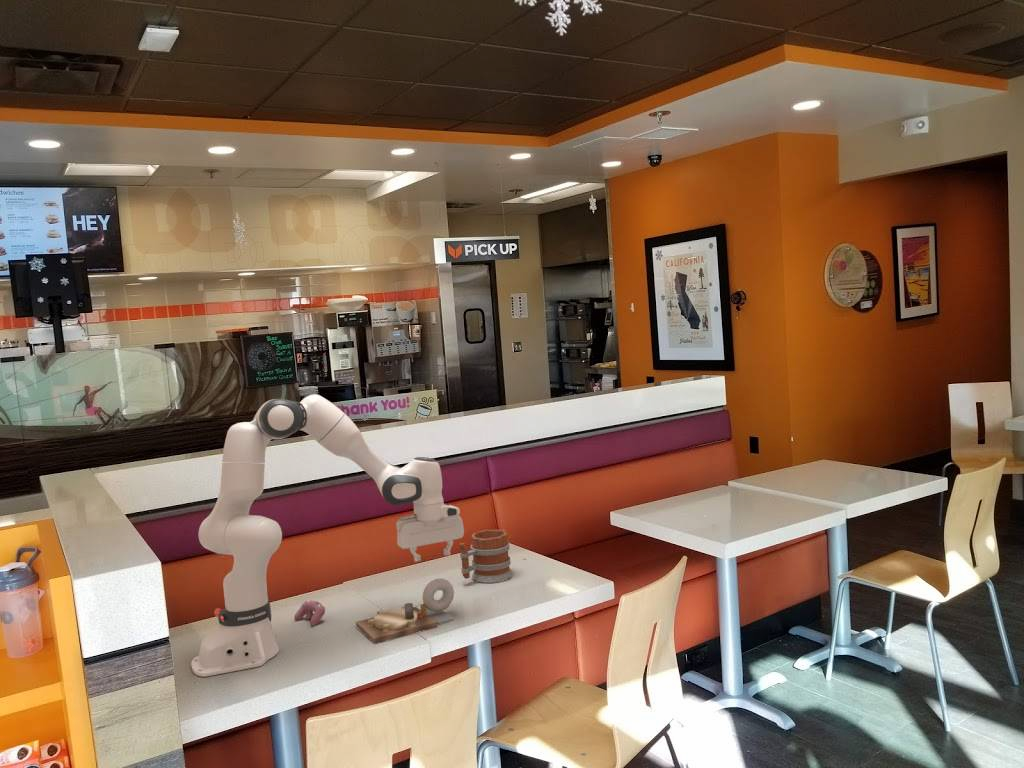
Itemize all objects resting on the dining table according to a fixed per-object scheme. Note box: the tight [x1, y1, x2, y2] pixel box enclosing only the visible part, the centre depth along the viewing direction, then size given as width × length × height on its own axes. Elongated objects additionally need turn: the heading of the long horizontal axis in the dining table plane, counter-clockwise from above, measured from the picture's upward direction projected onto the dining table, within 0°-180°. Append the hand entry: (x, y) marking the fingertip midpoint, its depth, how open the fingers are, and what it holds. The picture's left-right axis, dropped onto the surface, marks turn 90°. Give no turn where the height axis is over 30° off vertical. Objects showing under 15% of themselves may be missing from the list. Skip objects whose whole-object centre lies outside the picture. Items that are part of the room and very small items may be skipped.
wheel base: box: [355, 603, 439, 644], centre depth 233 cm, size 19×16×4 cm
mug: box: [459, 529, 513, 584], centre depth 271 cm, size 14×19×15 cm
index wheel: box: [368, 602, 423, 632], centre depth 233 cm, size 15×15×6 cm
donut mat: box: [426, 608, 455, 625], centre depth 240 cm, size 5×13×1 cm, turn 29°
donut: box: [422, 578, 455, 612], centre depth 239 cm, size 10×3×10 cm, turn 121°
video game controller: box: [293, 600, 326, 627], centre depth 244 cm, size 10×5×7 cm, turn 48°
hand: (432, 558), depth 238 cm, fingers open, 8 cm apart
